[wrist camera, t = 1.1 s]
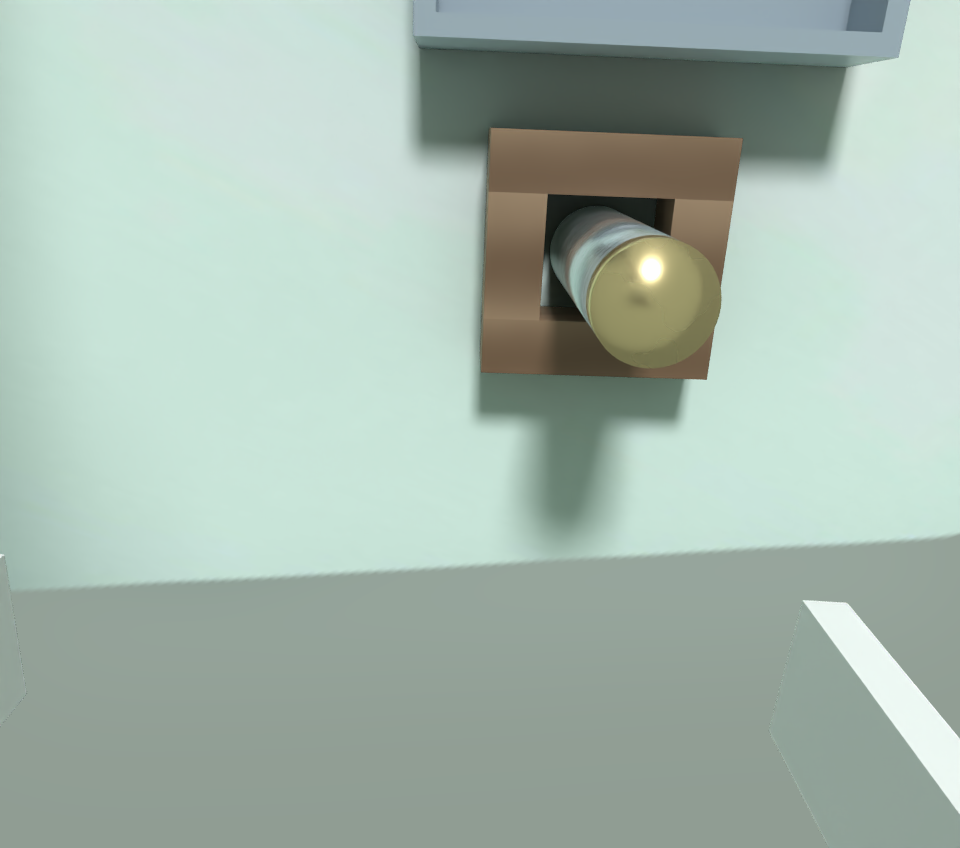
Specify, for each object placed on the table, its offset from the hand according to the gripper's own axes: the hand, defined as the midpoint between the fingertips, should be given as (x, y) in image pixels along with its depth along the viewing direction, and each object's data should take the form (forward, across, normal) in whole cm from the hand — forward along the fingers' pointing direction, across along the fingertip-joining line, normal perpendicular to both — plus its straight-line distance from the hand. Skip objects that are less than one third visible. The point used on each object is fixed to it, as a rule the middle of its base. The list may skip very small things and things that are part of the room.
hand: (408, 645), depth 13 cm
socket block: (+24, +6, +4) cm, 25 cm away
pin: (+24, +6, +4) cm, 25 cm away
